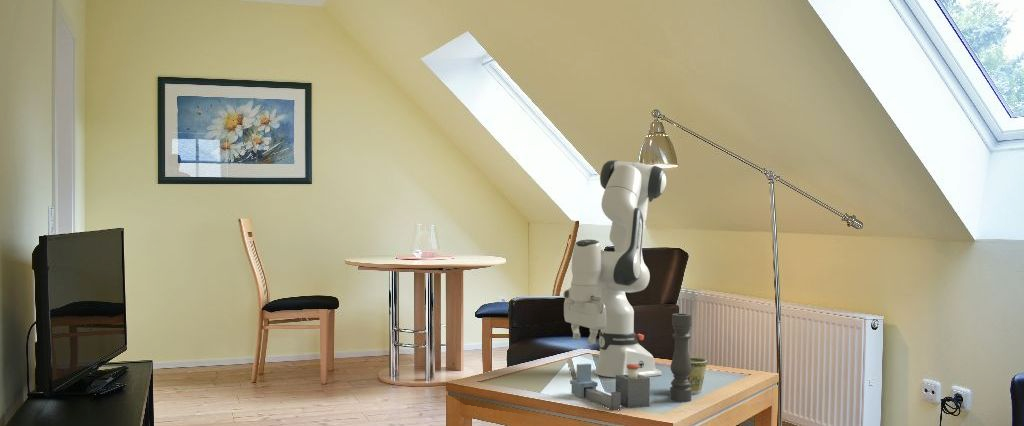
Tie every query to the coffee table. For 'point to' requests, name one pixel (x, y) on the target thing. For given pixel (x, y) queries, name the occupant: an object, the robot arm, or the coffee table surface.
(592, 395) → the rail
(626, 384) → the cabinet
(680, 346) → the candle holder
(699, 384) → the ceramic cup
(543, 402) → the coffee table surface
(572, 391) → the carriage
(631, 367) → the gauge button
